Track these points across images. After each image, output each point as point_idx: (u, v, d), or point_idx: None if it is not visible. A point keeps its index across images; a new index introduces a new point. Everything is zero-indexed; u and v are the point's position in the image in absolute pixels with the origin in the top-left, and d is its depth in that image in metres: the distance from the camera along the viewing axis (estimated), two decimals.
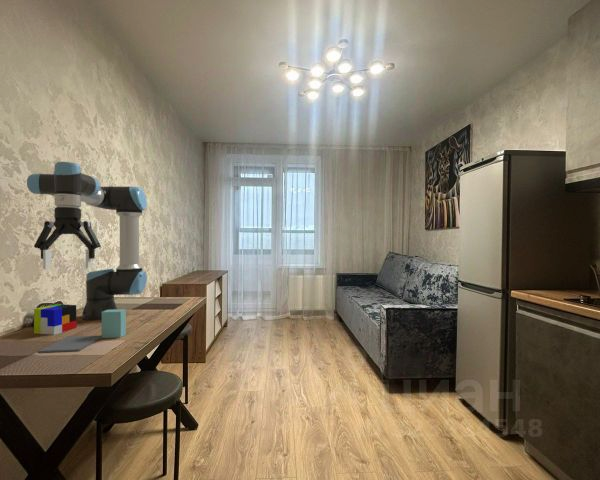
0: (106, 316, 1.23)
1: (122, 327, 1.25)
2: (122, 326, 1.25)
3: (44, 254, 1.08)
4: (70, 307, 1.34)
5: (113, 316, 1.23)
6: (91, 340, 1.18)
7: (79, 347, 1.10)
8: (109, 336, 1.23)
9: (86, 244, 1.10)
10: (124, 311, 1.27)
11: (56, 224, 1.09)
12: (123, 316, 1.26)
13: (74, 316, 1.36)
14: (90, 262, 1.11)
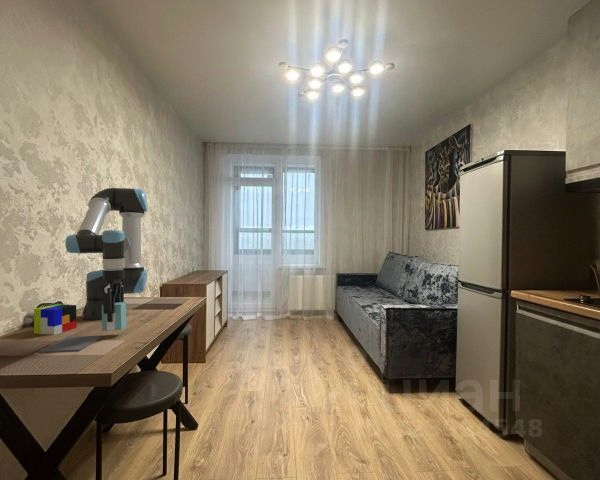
0: None
1: (122, 320, 1.26)
2: (122, 319, 1.26)
3: None
4: (70, 307, 1.34)
5: None
6: (91, 340, 1.18)
7: (79, 347, 1.10)
8: None
9: None
10: (124, 304, 1.27)
11: None
12: (123, 309, 1.26)
13: (74, 316, 1.36)
14: (111, 324, 1.23)
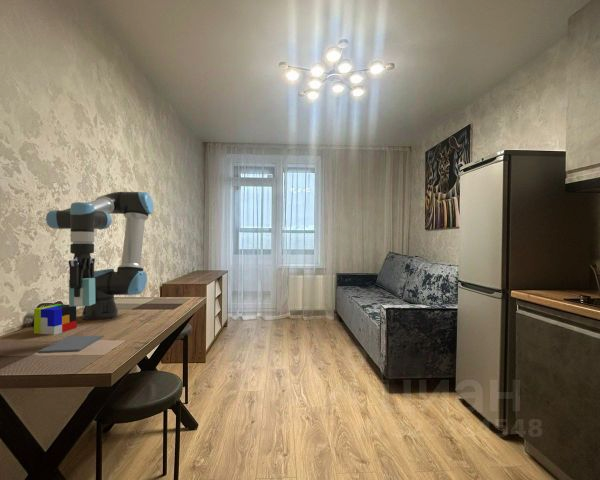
0: None
1: (91, 296, 1.21)
2: (91, 294, 1.21)
3: None
4: (70, 307, 1.34)
5: None
6: (91, 340, 1.18)
7: (79, 347, 1.10)
8: None
9: None
10: (93, 279, 1.23)
11: None
12: (91, 284, 1.21)
13: (74, 316, 1.36)
14: (78, 299, 1.18)
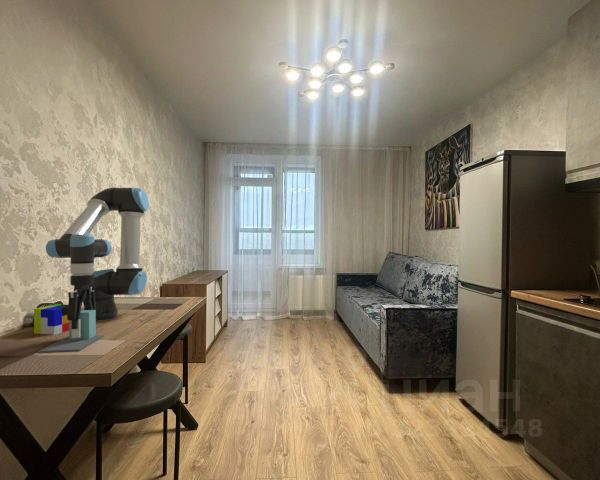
0: None
1: (91, 328, 1.21)
2: (91, 327, 1.21)
3: None
4: None
5: (81, 317, 1.19)
6: (91, 340, 1.18)
7: (79, 347, 1.10)
8: (77, 338, 1.19)
9: None
10: (94, 312, 1.23)
11: None
12: (92, 317, 1.22)
13: None
14: (76, 331, 1.17)
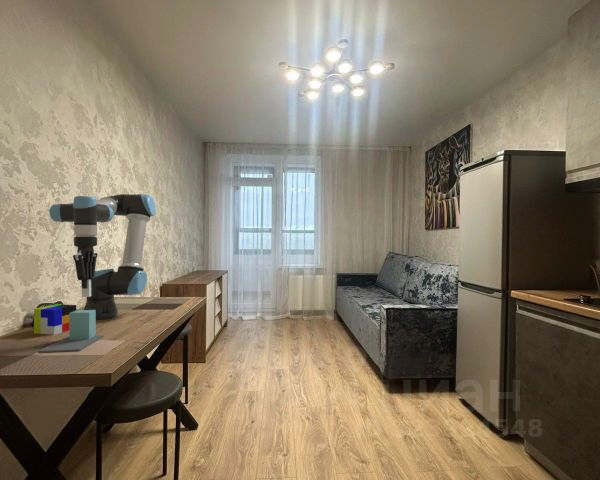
0: (74, 317, 1.19)
1: (91, 328, 1.21)
2: (91, 327, 1.21)
3: None
4: (70, 307, 1.34)
5: (81, 317, 1.19)
6: (91, 340, 1.18)
7: (79, 347, 1.10)
8: (77, 338, 1.19)
9: None
10: (94, 312, 1.23)
11: None
12: (92, 317, 1.22)
13: None
14: (86, 291, 1.23)
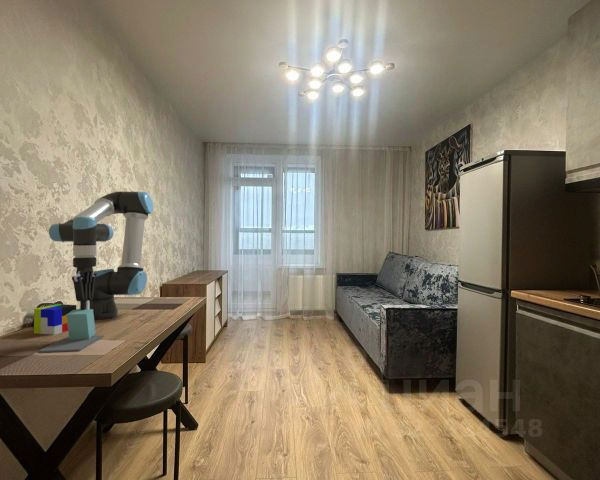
0: (72, 318, 1.18)
1: (90, 328, 1.20)
2: (90, 327, 1.20)
3: None
4: (70, 307, 1.34)
5: (79, 318, 1.18)
6: (91, 340, 1.18)
7: (79, 347, 1.10)
8: (77, 338, 1.19)
9: None
10: (91, 312, 1.21)
11: None
12: (90, 317, 1.20)
13: None
14: None
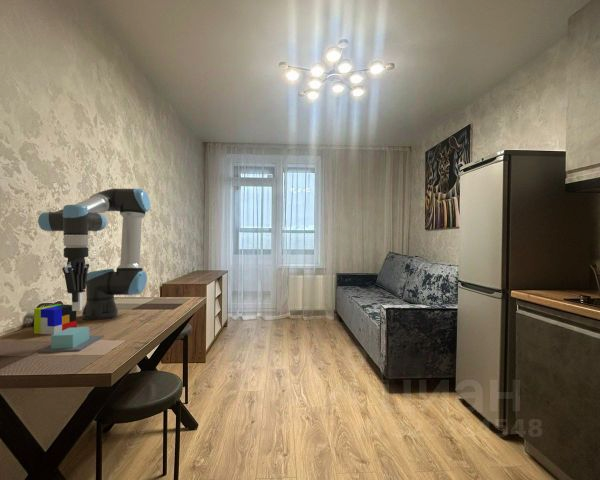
0: None
1: (83, 337, 1.16)
2: (83, 338, 1.16)
3: None
4: (70, 307, 1.34)
5: None
6: (91, 340, 1.18)
7: (79, 347, 1.10)
8: None
9: None
10: (74, 337, 1.10)
11: None
12: (77, 340, 1.12)
13: (74, 316, 1.36)
14: (76, 305, 1.17)
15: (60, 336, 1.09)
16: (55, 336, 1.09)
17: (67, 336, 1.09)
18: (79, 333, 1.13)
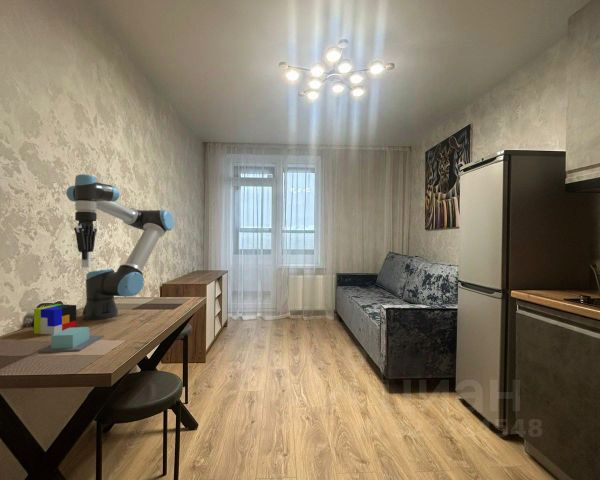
0: None
1: (83, 337, 1.16)
2: (83, 338, 1.16)
3: None
4: (70, 307, 1.34)
5: None
6: (91, 340, 1.18)
7: (79, 347, 1.10)
8: None
9: None
10: (74, 337, 1.10)
11: None
12: (77, 340, 1.12)
13: (74, 316, 1.36)
14: (85, 262, 1.34)
15: (60, 336, 1.09)
16: (55, 336, 1.09)
17: (67, 336, 1.09)
18: (79, 333, 1.13)
